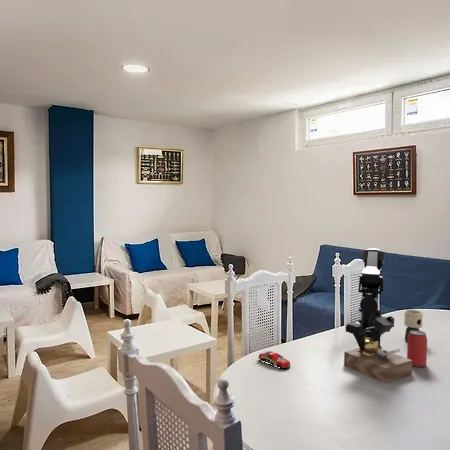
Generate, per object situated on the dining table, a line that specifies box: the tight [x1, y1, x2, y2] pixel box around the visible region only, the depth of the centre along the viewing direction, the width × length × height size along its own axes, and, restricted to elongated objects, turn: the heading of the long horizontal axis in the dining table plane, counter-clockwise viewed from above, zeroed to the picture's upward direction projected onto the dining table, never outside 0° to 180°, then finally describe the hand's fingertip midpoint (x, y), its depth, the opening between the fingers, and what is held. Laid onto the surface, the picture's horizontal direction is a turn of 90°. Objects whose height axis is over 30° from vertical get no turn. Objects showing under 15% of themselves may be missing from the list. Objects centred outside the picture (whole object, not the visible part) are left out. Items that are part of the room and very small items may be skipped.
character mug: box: [403, 309, 423, 341], centre depth 185 cm, size 11×7×13 cm, turn 140°
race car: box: [258, 350, 291, 369], centre depth 158 cm, size 13×5×4 cm, turn 42°
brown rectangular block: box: [343, 347, 413, 384], centre depth 153 cm, size 18×14×7 cm
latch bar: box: [378, 348, 401, 358], centre depth 149 cm, size 8×3×2 cm, turn 31°
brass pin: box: [358, 338, 378, 356], centre depth 157 cm, size 6×6×8 cm
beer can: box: [406, 330, 428, 368], centre depth 159 cm, size 7×7×12 cm
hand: (368, 349), depth 157 cm, fingers closed on brass pin, 6 cm apart
